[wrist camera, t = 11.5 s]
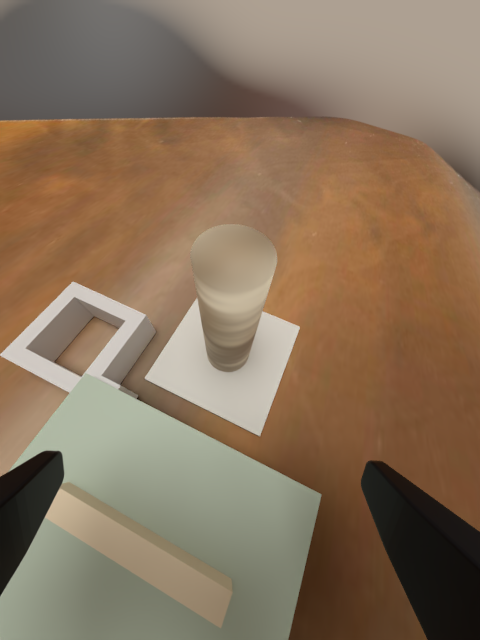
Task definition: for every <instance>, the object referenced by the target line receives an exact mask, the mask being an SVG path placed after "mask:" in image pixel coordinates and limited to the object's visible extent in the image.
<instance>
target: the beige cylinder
mask: <svg viewBox="0 0 480 640" xmlns="http://www.w3.org/2000/svg"><path fill="white" fill-rule="evenodd" d="M190 258H191V264H192V270H193V276H194V282H195V287H196V293H197V299H198V305H199V311H200V317H201V322H202V328H203V334H204V340H205V346H206V352H207V357H208V360H209V362H210V363H211V365H212V366H213V367H214V368H216V369H218V370H220V371H223V372H233V371H236V370H238V369H240V368H241V367H243V366H244V365H245V363H246V362H247V360H248V357H249V354H250V350H251V347H252V344H253V340H254V337H255V334H256V331H257V327H258V324H259V321H260V317H261V314H262V311H263V308H264V304H265V301H266V298H267V294H268V291H269V288H270V285H271V281H272V278H273V275H274V271H275V268H276V265H277V253H276V250H275V247H274V245H273V244H272V242H271V241H270V240H269V239H268V238H267V237H266V236H265V235H264V234H262V233H261V232H259V231H258V230H256V229H253V228H251V227H248V226H244V225H238V224H225V225H219V226H216V227H213V228H210V229H208V230H206V231H205V232H203V233H202V234H201V235H200V236H199V237H198V238H197V239H196V240H195V242H194V243H193V246H192V248H191V254H190Z"/></svg>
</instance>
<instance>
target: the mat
mask: <svg viewBox="0 0 480 640" xmlns="http://www.w3.org/2000/svg"><path fill="white" fill-rule="evenodd" d="M299 329H300V327H299V326H296V325H294V324H292V323H289V322H287V321H285V320H282V319H280V318H278V317H275V316H273V315H270V314H268V313H266V312H263V311H262V314H261V317H260V321H259V324H258V327H257V331H256V334H255V337H254V340H253V344H252V347H251V350H250V354H249V357H248V360H247V362H246V363H245V365H244V366H243V367H241V368H240V369H238V370H236V371H233V372H223V371H220V370H218V369H216V368H214V367H213V366H212V365H211V363H210V362H209V360H208V357H207V352H206V346H205V340H204V334H203V328H202V322H201V317H200V311H199V305H198V299H196V300H195V302H194V303H193V305H192V306H191V308H190V309H189V311H188V312H187V314H186V315H185V317H184V319H183V320H182V322H181V323H180V325H179V326H178V328H177V329H176V331H175V332H174V334H173V335H172V337H171V339H170V340H169V342H168V343H167V345H166V346H165V348H164V349H163V351H162V352H161V354H160V355H159V357H158V359H157V360H156V362H155V363H154V365H153V366H152V368H151V369H150V371H149V372H148V374H147V375H146V377H145V379H146V380H148V381H150V382H152V383H154V384H156V385H158V386H160V387H162V388H164V389H166V390H168V391H170V392H172V393H174V394H176V395H178V396H180V397H182V398H184V399H186V400H188V401H190V402H192V403H194V404H196V405H198V406H200V407H202V408H204V409H206V410H208V411H210V412H212V413H214V414H216V415H218V416H220V417H222V418H224V419H226V420H228V421H230V422H232V423H234V424H236V425H238V426H240V427H242V428H244V429H246V430H248V431H250V432H252V433H254V434H256V435H258V436H260V435H261V432H262V429H263V426H264V424H265V421H266V418H267V416H268V413H269V410H270V407H271V405H272V402H273V399H274V397H275V394H276V391H277V388H278V386H279V383H280V380H281V378H282V375H283V372H284V369H285V367H286V364H287V361H288V359H289V356H290V353H291V350H292V348H293V345H294V342H295V340H296V337H297V334H298V331H299Z"/></svg>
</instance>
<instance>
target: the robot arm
mask: <svg viewBox="0 0 480 640" xmlns="http://www.w3.org/2000/svg"><path fill="white" fill-rule="evenodd" d="M63 479H64V464H63V455H62V453H61V451H51V450H46V451H43V452H41V453H39V454H37V455H36V456H34V457H32V458H31V459H29V460H27V461H26V462H24V463H22V464H21V465H19V466H17V467H16V468H14V469H12V470H11V471H9V472H7V473H6V474H4V475H2V476H1V477H0V596H1V594H2V593H3V591H4V589H5V588H6V586H7V585H8V583H9V581H10V580H11V578H12V576H13V575H14V573H15V571H16V570H17V568H18V566H19V565H20V563H21V561H22V560H23V558H24V556H25V555H26V553H27V551H28V549H29V547H30V545H31V543H32V542H33V540H34V538H35V536H36V534H37V532H38V530H39V528H40V526H41V524H42V522H43V520H44V518H45V516H46V514H47V512H48V510H49V508H50V506H51V504H52V502H53V500H54V498H55V496H56V494H57V492H58V491H59V489H60V487H61V485H62V482H63ZM361 487H362V490H363V493H364V496H365V498H366V501H367V504H368V506H369V509H370V511H371V514H372V517H373V519H374V522H375V524H376V527H377V530H378V532H379V535H380V537H381V540H382V542H383V545H384V547H385V550H386V552H387V554H388V556H389V559H390V561H391V563H392V565H393V567H394V569H395V571H396V574H397V576H398V578H399V580H400V582H401V584H402V586H403V588H404V591H405V593H406V595H407V597H408V599H409V601H410V603H411V605H412V607H413V610H414V612H415V614H416V616H417V618H418V620H419V622H420V624H421V627H422V629H423V631H424V633H425V635H426V637H427V639H428V640H480V532H479V531H478V530H476V529H475V528H474V527H472V526H471V525H470V524H468V523H467V522H465V521H464V520H463V519H461V518H460V517H458V516H457V515H456V514H454V513H453V512H452V511H450V510H449V509H447V508H446V507H445V506H443V505H442V504H441V503H439V502H438V501H436V500H435V499H434V498H432V497H431V496H429V495H428V494H427V493H425V492H424V491H423V490H421V489H420V488H418V487H417V486H416V485H414V484H413V483H412V482H410V481H409V480H407V479H406V478H405V477H403V476H402V475H400V474H399V473H398V472H396V471H395V470H394V469H392V468H391V467H389V466H388V465H387V464H385V463H384V462H382V461H368V462H367V463H366V466H365V469H364V473H363V476H362V479H361Z"/></svg>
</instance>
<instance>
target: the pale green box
mask: <svg viewBox="0 0 480 640" xmlns="http://www.w3.org/2000/svg"><path fill="white" fill-rule="evenodd" d="M93 316H95V317H97V318H99V319H101V320H103V321H105V322H107V323H109V324H112V325H114V326H116V327H118V328H119V330H118V331H117V332H116V333H115V335H114V336H113V337H112V339H111V340H110V341H109V342H108V344H107V345H106V346H105V348H104V349H103V350H102V351H101V353H100V354H99V355H98V356H97V358H96V359H95V360H94V362H93V363H92V364H91V365H90V367H89V368H88V369H87V371H86V372H85V373H84V374H83V376H80V375H78V374H76V373H74V372H72V371H70V370H68V369H67V368H65V367H63V366H61V365H59V364H57V363H55V362H54V361H55V360H56V359H57V358H58V357H59V356H60V354H61V353H62V352H63V351H64V350H65V349H66V348H67V346H68V345H69V344H70V343H71V342H72V341H73V339H74V338H75V337H76V336H77V335H78V334H79V333H80V331H81V330H82V329H83V328H84V327H85V326H86V324H87V323H88V322H89V321H90V320H91V319H92V318H93ZM155 333H156V331H155V329H154V327H153V326H152V324H151V322H150V320H149V319H148V317H147V315H145V314H143V313H141V312H139V311H136V310H134V309H132V308H130V307H128V306H125V305H123V304H121V303H119V302H117V301H114V300H112V299H110V298H108V297H106V296H104V295H101V294H99V293H97V292H95V291H93V290H90V289H88V288H86V287H84V286H82V285H80V284H77V283H75V282H72V283H71V284H70V285H69V286H68V287H67V288H66V289H65V290H64V291H63V292H62V293H61V294H60V295H59V296H58V297H57V298H56V299H55V300H54V301H53V302H52V303H51V304H50V305H49V306H48V307H47V308H46V309H45V310H44V311H43V312H42V313H41V314H40V315H39V316H38V317H37V318H36V319H35V320H34V321H33V322H32V323H31V324H30V325H29V326H28V327H27V328H26V329H25V330H24V331H23V332H22V333H21V334H20V335H19V336H18V337H17V338H16V339H15V340H14V341H13V342H12V343H11V344H10V345H9V346H8V347H7V348H6V349H5V350H4V351H3V352H2V353H1V354H0V356H2V357H4V358H6V359H7V360H9V361H11V362H13V363H15V364H17V365H19V366H20V367H22V368H24V369H26V370H28V371H30V372H32V373H34V374H35V375H37V376H39V377H41V378H43V379H45V380H47V381H49V382H50V383H52V384H54V385H56V386H58V387H60V388H62V389H63V390H65V391H67V392H69V395H68V396H67V397H66V398H65V400H64V401H63V402H62V404H61V405H60V406H59V407H58V409H57V410H56V411H55V413H54V414H53V415H52V416H51V418H50V419H49V420H48V422H47V423H46V424H45V425H44V427H43V428H42V429H41V431H40V432H39V433H38V434H37V436H36V437H35V438H34V439H33V441H32V442H31V443H30V445H29V446H28V447H27V448H26V450H25V451H24V452H23V454H22V455H21V456H20V457H19V459H18V460H17V461H16V463H15V464H14V465H13V466H12V468H11V469H10V470H9V471H11V470H12V469H14V468H16V467H17V466H19V465H21V464H22V463H24V462H26V461H27V460H29V459H31V458H32V457H34V456H36V455H37V454H39V453H41V452H43V451H46V450H51V451H61V453H62V455H63V464H64V479H63V482H62V485H61V487H60V489H59V491H58V492H57V494H56V496H55V498H54V500H53V502H52V504H51V506H50V508H49V510H48V512H47V514H46V516H45V518H44V520H43V522H42V524H41V526H40V528H39V530H38V532H37V534H36V536H35V538H34V540H33V542H32V543H31V545H30V547H29V549H28V551H27V553H26V555H25V556H24V558H23V560H22V561H21V563H20V565H19V566H18V568H17V570H16V571H15V573H14V575H13V576H12V578H11V580H10V581H9V583H8V585H7V586H6V588H5V589H4V591H3V593H2V594H1V596H0V640H288V638H289V634H290V629H291V625H292V621H293V616H294V612H295V608H296V603H297V599H298V595H299V590H300V586H301V582H302V577H303V573H304V569H305V564H306V560H307V556H308V551H309V547H310V542H311V538H312V534H313V529H314V525H315V521H316V516H317V512H318V508H319V503H320V499H321V494H320V493H318V492H316V491H314V490H312V489H310V488H308V487H306V486H304V485H302V484H300V483H298V482H296V481H294V480H292V479H291V478H289V477H287V476H285V475H283V474H281V473H279V472H277V471H275V470H273V469H271V468H269V467H267V466H265V465H263V464H261V463H260V462H258V461H256V460H254V459H252V458H250V457H248V456H246V455H244V454H242V453H240V452H238V451H236V450H234V449H232V448H230V447H228V446H227V445H225V444H223V443H221V442H219V441H217V440H215V439H213V438H211V437H209V436H207V435H205V434H203V433H201V432H199V431H197V430H196V429H194V428H192V427H190V426H188V425H186V424H184V423H182V422H180V421H178V420H176V419H174V418H172V417H170V416H168V415H166V414H164V413H163V412H161V411H159V410H157V409H155V408H153V407H151V406H149V405H147V404H145V403H143V402H141V401H139V400H137V397H138V396H139V395H137V394H135V393H133V392H131V391H130V390H128V389H126V388H124V387H123V386H121V385H120V384H121V382H122V381H123V380H124V378H125V377H126V375H127V374H128V372H129V371H130V369H131V368H132V367H133V365H134V364H135V362H136V361H137V359H138V358H139V356H140V355H141V354H142V352H143V351H144V349H145V348H146V346H147V345H148V343H149V342H150V341H151V339H152V338H153V336H154V335H155ZM9 471H8V472H9Z"/></svg>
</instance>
